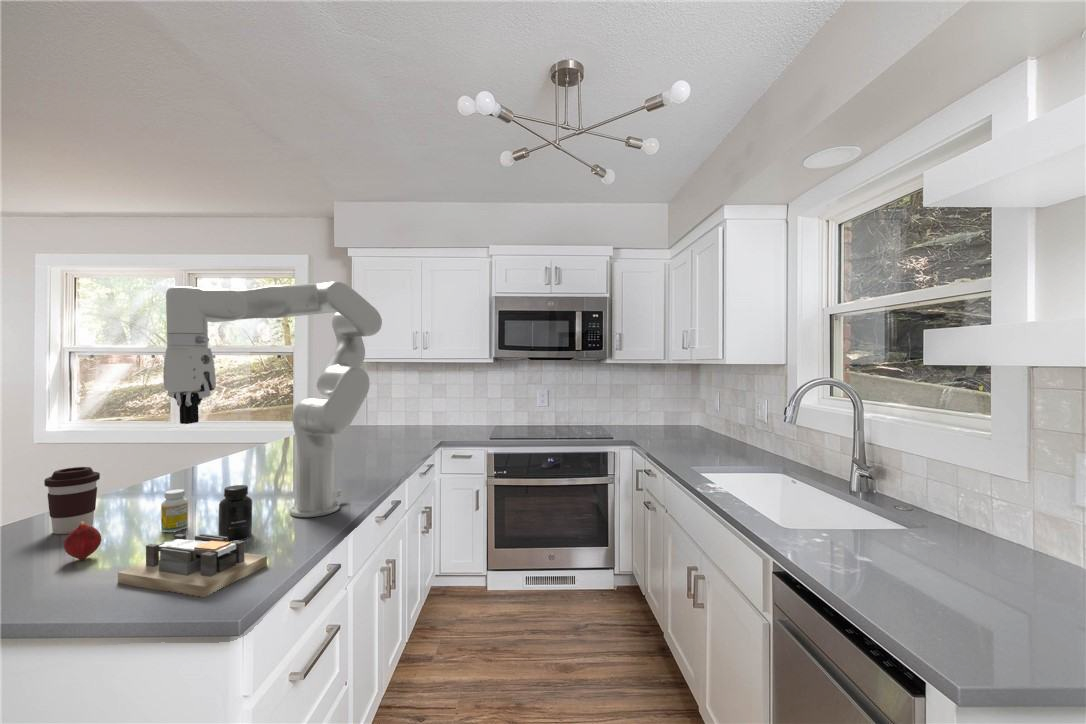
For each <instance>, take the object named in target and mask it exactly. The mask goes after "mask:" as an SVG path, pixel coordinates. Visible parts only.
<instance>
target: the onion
mask: <svg viewBox="0 0 1086 724" xmlns="http://www.w3.org/2000/svg"><path fill="white" fill-rule="evenodd" d="M64 539H65V540H64V541H63V547H64V552H65V553H66V554H67V555H68V556H70V557H73V558H74V559H78V560H81V561H82V560H85V559H87V558H89V556H91V555H92V554H93V553H95V552H96V551H97V549H98V548H99V546H101V543H102V535H101V533H100V531H99V530H98V529H97V528H95V527H94V526H88V525H87V524H86V523H85V522H83V521H82V522H81V523H80V524H79V526H78V528H76V529H75V530H73V531H72V532H71V533H70V534H67V536H66V538H64Z"/></svg>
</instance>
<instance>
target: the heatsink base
mask: <svg viewBox="0 0 1086 724" xmlns="http://www.w3.org/2000/svg"><path fill="white" fill-rule="evenodd" d="M173 539H183V540H187V534H181V533H178V534H175V535H174V536H173ZM194 540H195V541H208V542H209V541H221V542H228V537H223V536H219V535H214V534H208V533H207V534H206V533H200V534H199V535H198V534H197V535H195V536H194ZM231 543H233V544H236V549H235V550H232V551H230V552H228V553H225V554H223V555H221V556H219V557H216V553H211V552H205V553H203V554H201V555H196V550H192V549H185V548H178V547H171V546H167V547H165V548H162V549H160V551H159V544H157V543H149V544H147V545H145V561H143V562H142V563H139V564H136V565H133V566H132V567H128V568H126V569H123V570H121V571H118V572H117V583H118V584H122V585H128V586H133V587H139V588H145V589H152V590H158V591H162V590H163V591H165V592H168V591H171V592H170V593H174V592H177V593H176V594H180V593H183V594H182V595H186V594H188V595H187V596H192V595H194V596H193V597H198V596H200V597H199V598H206V597H208V596H210V595H212V594H214V593H216V592H218V591H220V590H222V589H223V587H224V588H226V587H228V586H229V584H230V585H231V583H232V584H233V582H234V583H235V581H236V582H237V580H238V581H239V579H240V580H242V579H244V578H246V577H247V576H249V575H251V574H253V573H256V572H257V571H259V570H261V569H263V568H265V567H267V566H268V558H267V557H268V556H267V555H262V554H255V553H247V552H245V541H244V540H239V541H237V540H234V541H232V542H231ZM159 553H160V554H159ZM241 578H242V579H241ZM227 585H228V586H227ZM225 586H226V587H225ZM221 588H222V589H221ZM219 589H220V590H219ZM217 590H218V591H217ZM213 592H214V593H213ZM207 595H208V596H207Z"/></svg>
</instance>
